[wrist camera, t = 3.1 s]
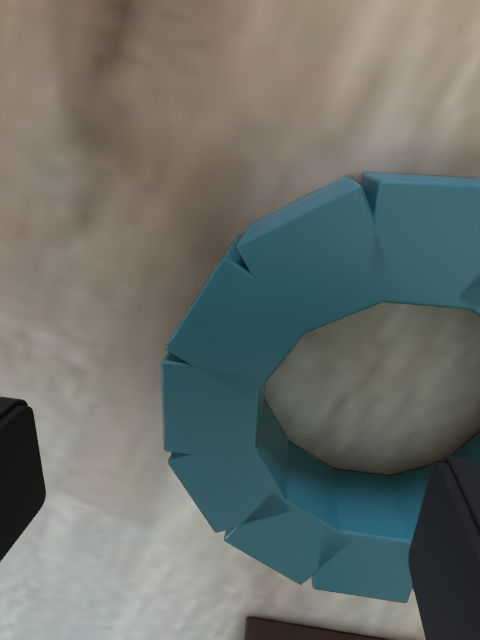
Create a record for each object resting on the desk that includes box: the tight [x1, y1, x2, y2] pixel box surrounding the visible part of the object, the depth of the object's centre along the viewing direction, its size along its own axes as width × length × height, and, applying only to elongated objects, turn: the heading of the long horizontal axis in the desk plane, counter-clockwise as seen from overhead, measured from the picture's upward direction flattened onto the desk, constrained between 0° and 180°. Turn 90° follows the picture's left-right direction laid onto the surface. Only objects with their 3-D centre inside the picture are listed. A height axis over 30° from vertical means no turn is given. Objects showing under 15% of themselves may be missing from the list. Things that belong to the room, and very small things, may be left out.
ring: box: [161, 172, 480, 603], centre depth 12 cm, size 12×12×3 cm
